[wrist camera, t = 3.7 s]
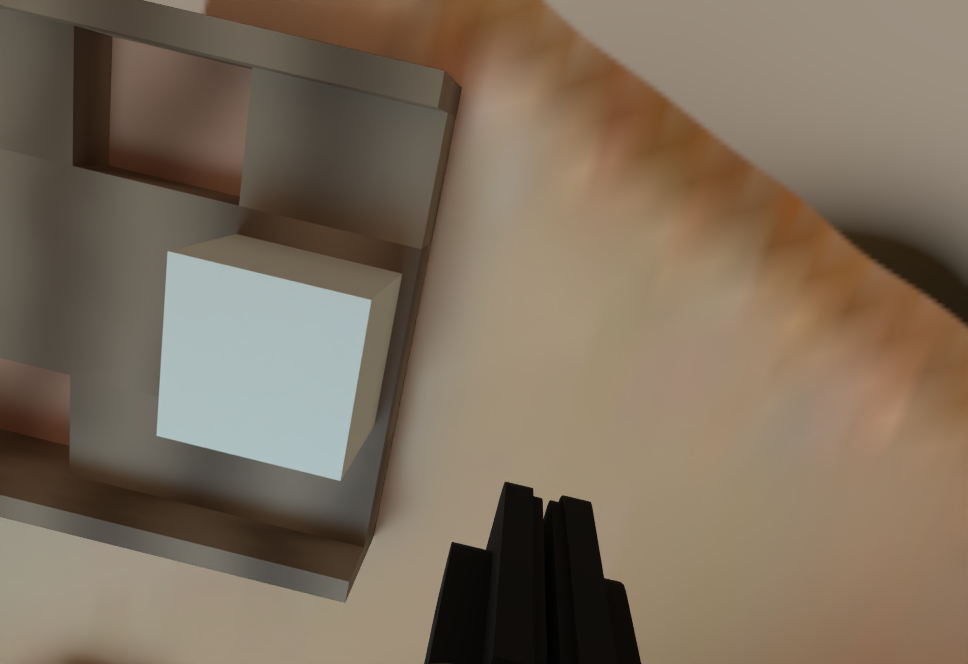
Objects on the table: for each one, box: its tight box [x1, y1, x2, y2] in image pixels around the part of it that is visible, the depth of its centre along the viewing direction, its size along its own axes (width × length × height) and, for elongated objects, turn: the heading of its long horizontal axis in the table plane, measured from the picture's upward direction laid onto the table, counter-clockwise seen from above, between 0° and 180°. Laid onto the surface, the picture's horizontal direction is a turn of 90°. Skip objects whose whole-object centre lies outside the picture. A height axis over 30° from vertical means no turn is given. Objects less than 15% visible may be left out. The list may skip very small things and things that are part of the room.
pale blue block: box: [156, 234, 402, 481], centre depth 19 cm, size 6×6×4 cm
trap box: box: [0, 0, 462, 603], centre depth 21 cm, size 25×19×4 cm
